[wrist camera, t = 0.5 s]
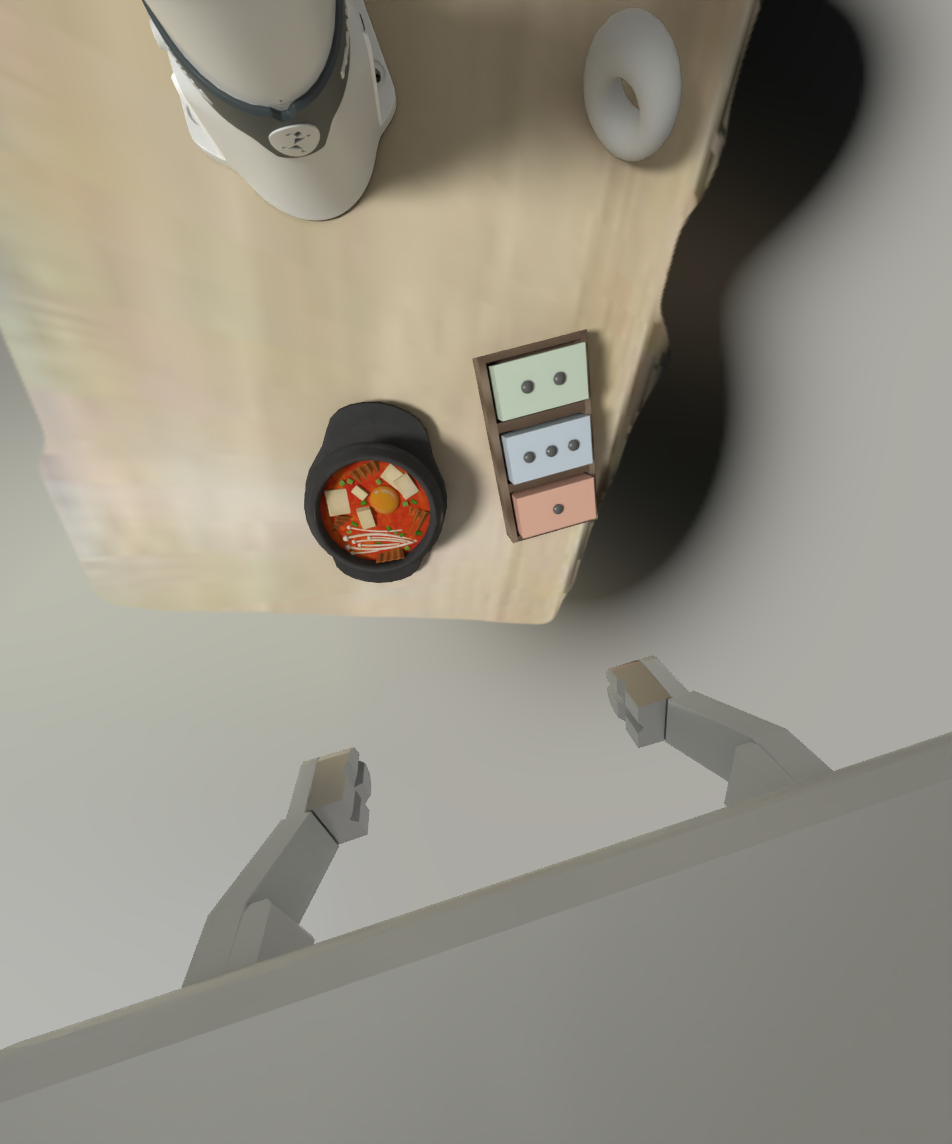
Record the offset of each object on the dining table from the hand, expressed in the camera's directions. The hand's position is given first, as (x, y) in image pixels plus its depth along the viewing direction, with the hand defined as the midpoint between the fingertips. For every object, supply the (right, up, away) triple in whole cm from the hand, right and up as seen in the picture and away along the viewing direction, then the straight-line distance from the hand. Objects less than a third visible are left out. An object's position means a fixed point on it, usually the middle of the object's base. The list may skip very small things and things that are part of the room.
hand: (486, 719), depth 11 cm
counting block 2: (+9, +22, +38) cm, 45 cm away
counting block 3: (+10, +15, +42) cm, 46 cm away
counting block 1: (+7, +28, +34) cm, 45 cm away
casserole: (-14, +15, +40) cm, 45 cm away
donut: (+13, +51, +27) cm, 59 cm away
